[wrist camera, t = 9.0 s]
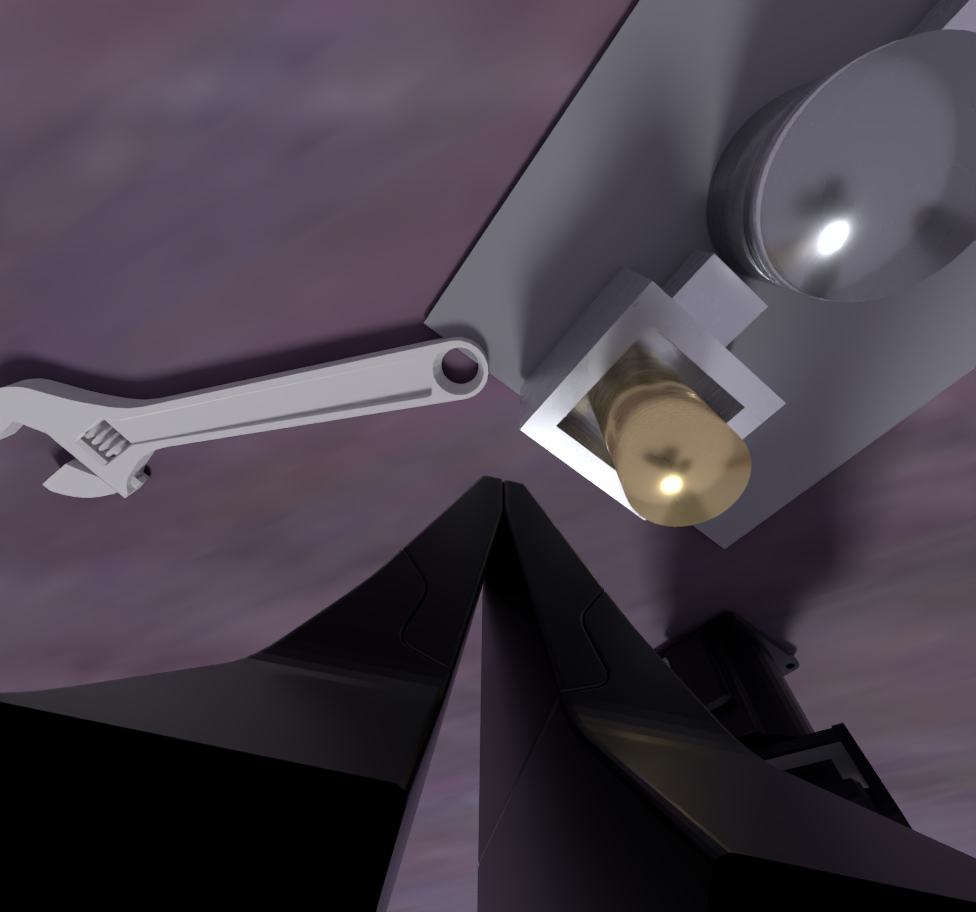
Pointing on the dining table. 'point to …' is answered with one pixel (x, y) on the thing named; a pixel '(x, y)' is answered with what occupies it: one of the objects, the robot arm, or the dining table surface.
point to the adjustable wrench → (222, 410)
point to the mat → (683, 229)
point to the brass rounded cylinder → (667, 442)
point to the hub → (855, 174)
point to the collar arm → (664, 341)
